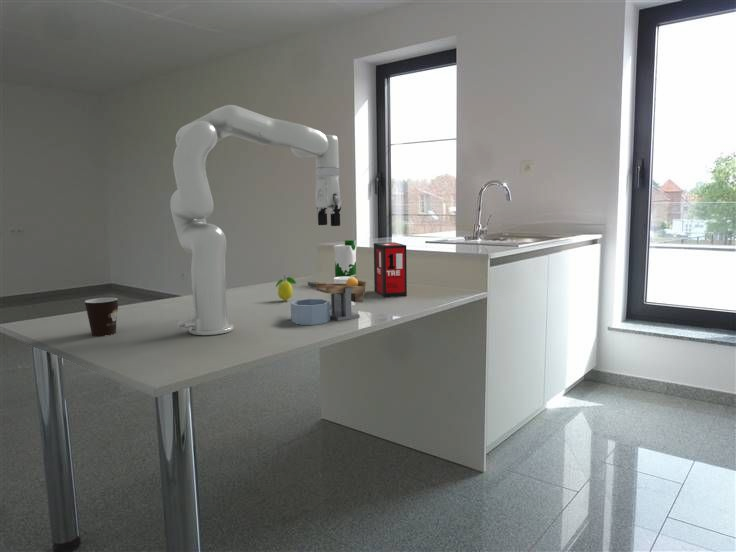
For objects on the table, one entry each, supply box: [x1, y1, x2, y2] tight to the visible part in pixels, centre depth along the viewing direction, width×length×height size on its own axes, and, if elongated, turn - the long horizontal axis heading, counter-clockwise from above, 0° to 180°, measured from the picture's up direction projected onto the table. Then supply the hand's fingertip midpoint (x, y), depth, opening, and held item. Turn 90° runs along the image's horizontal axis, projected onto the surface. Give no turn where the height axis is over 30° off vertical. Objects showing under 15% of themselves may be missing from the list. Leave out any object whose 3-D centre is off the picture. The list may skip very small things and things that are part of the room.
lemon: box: [275, 275, 297, 302], centre depth 212 cm, size 7×6×10 cm
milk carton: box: [333, 239, 357, 279], centre depth 249 cm, size 9×9×20 cm
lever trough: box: [307, 279, 367, 303], centre depth 184 cm, size 14×14×7 cm
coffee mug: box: [84, 297, 119, 337], centre depth 165 cm, size 12×9×10 cm
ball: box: [346, 277, 359, 286], centre depth 183 cm, size 4×4×4 cm
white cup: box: [333, 276, 356, 307], centre depth 202 cm, size 8×8×10 cm
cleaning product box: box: [373, 242, 408, 298], centre depth 224 cm, size 16×9×20 cm, turn 13°
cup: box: [290, 298, 331, 326], centre depth 176 cm, size 11×11×6 cm
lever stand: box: [330, 288, 360, 322], centre depth 182 cm, size 8×10×10 cm
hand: (329, 225), depth 187 cm, fingers open, 9 cm apart
